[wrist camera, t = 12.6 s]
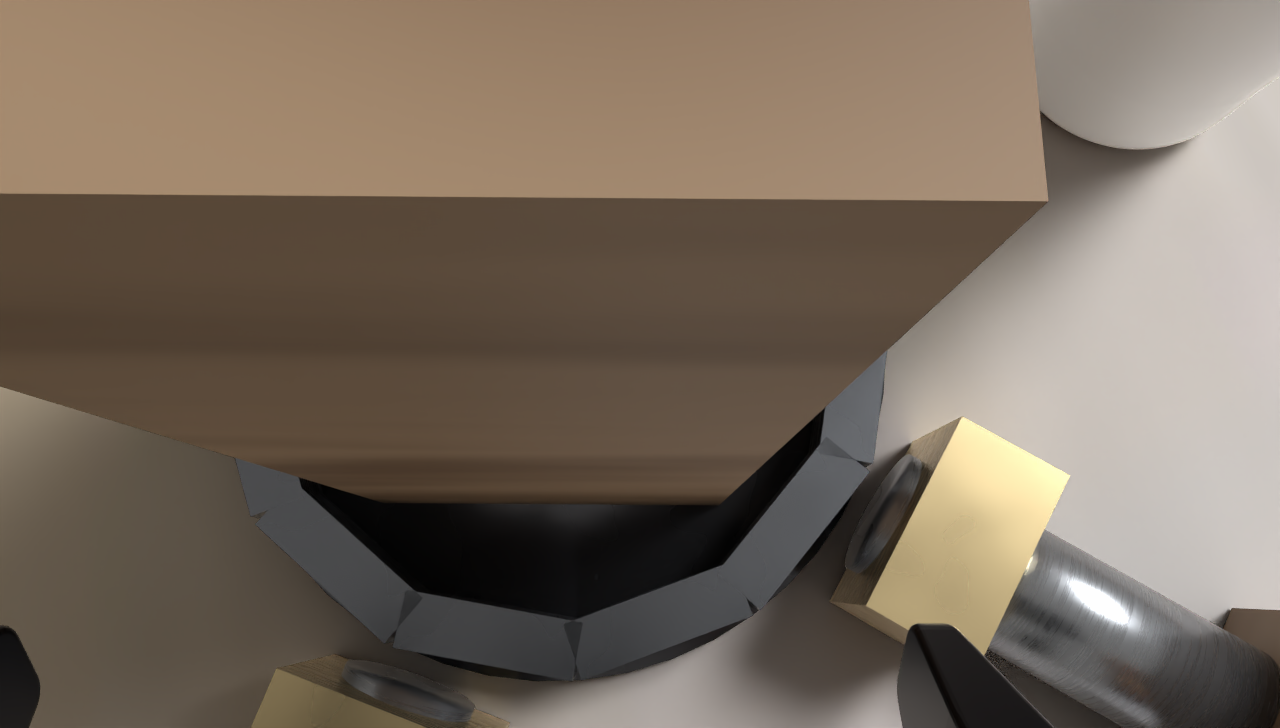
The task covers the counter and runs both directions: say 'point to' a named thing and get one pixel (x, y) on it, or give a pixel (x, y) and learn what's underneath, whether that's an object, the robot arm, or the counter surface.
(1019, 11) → the coupling post
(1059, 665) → the shaft
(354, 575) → the dark grey shallow bowl
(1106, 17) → the drinking glass
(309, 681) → the shaft
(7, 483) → the counter surface
